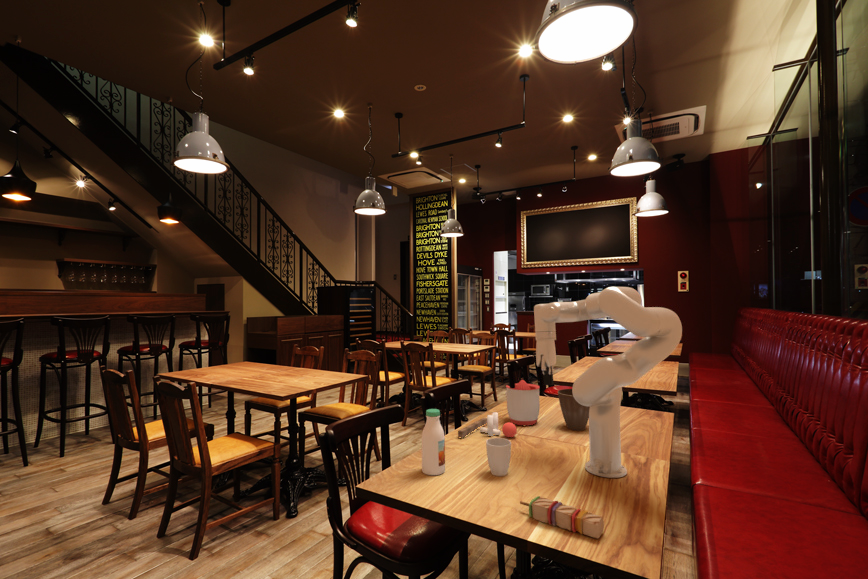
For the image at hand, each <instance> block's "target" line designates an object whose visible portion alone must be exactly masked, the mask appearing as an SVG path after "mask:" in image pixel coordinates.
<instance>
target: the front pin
mask: <svg viewBox="0 0 868 579" xmlns="http://www.w3.org/2000/svg"><path fill="white" fill-rule="evenodd" d="M480 432H485V433H487V427H481V428H480V429H479V433H480ZM485 433H484V434H485ZM493 434H495V435H494V436H496V435H500V436H501V434H502V433H501V430H500V429H498V430H497V429H493Z"/></svg>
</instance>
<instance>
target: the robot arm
mask: <svg viewBox="0 0 868 579" xmlns="http://www.w3.org/2000/svg"><path fill="white" fill-rule="evenodd" d="M533 313H534V316H533V317H534V331H535V334H534V335H535V341H536V347H535V348H536V349H535V358H536V359H535V360H536V361H535V362H536V363H535V364H536V366H537V368H538V367H541V371H542V374H543V375H542V376H543V386H554V366H555V365H556V364H557V353H556V344H555V341H557V334H556V333H557V332H556V331H557V330H556V323H559V324H560V323H574V322H583V321H587V320H596V319H601V318H602V319H603V318H607V317H608V318H610V319H612V320H613V321H614V322H616V323H617V324H618V325H620V326H621V327H622V328H624V329H625V330H626V331H627V332H630V333H631V334H632V335H635V336H637V337H642V338H641V339H639V340H637V341H636V342H635V343H634V344H632V346H631V347H629V348H628V349H626V350H625V351H624V352H622V353H620V354H616V355H610V356H605V357H602V358H601V359H598V360H597V361H596V362H594V363H593V364H592V365H591V366H589V367H588V368H587V369H586V370H585V371H584V372H583V373H582V374H581V375H579V376H578V377H577V378H576V380H575V381H574V382H573V384H572V387H571V389H572V393H573V397H574V398H575V400H576V401H577V402H578V403H579V404H581V405H583V406H590V409H589V419H588V437H589V440H588V441H589V461H587V462H585V464H584V467H585V468H584V469H585V470H586V471H587V472H588V473H590V474H592V475H595V476H599V477H602V478H609V479H610V478H611V479H616V478H623V477H625V476H627V473H628V470H627V468H626V467H625V466H624V465H623V464H622V450H621V448H622V447H621V446H622V445H621V441H622V440H621V402H622V398H623V397H622V396H623V387H627V386H631V385H633V384H635V383H636V382H638V381H639V380H640V379H641V378H642V377H643V376H645V375H646V374H648V373H649V372H650V371H651V370H653V369H654V368H656V366H658V365H659V364H660V363H661V362H663V361H664V360H665V359H667V358H668V357H669V356H670V355H671V354H672V353H673V352H674V351H675V350H676V349H677V347H678V345H679V344H680V342H681V339H682V333H683V326H682V322H681V320H680V317H679V316H678V314H677V313H676V312H675V311H673V310H672V309H669V308H666V307H662V306H661V307H660V306H659V307H658V306H655V307H654V306H652V307H649V306H648V307H645V306H643V305H642V297H641V295H640V293H639V291H637V290H636V289H634V288H633V287H629V286H608V287H606V288H604V289H603V290H601V291H598V292H594V293H591V294H588V296H587V297H586V298H585V299H581V300H576V301H553V302H549V303H539V304H535V305H534V306H533Z"/></svg>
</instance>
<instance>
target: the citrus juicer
mask: <svg viewBox="0 0 868 579" xmlns="http://www.w3.org/2000/svg"><path fill="white" fill-rule="evenodd" d="M505 387H506V391H505V395H506V409H507V414H508V418H509V420H510V421H509V422H511V423H514V425H518V426H522V425H527V426H533V424H534V425H536V424H537V422H538V419H539V415H540V407H541V406H540V405H541V404H540V385H538V384H532V383H527V382H526V381H525V380H524V379H521V380H519V382H517V383H514V388H512V387H511V386H509V385H508V384H506V385H505ZM535 423H536V424H535Z"/></svg>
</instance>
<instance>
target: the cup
mask: <svg viewBox="0 0 868 579" xmlns="http://www.w3.org/2000/svg"><path fill="white" fill-rule="evenodd" d="M485 446H486V456H487V462H488V467H489V469H490V473H491V475H492V476H497V477H504V476H507V474H508V472H509V469H510V462H511V454H512V452H511V451H512V441H511V440H510V439H508V438H503V437H490V438H489V439H486V441H485Z"/></svg>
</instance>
